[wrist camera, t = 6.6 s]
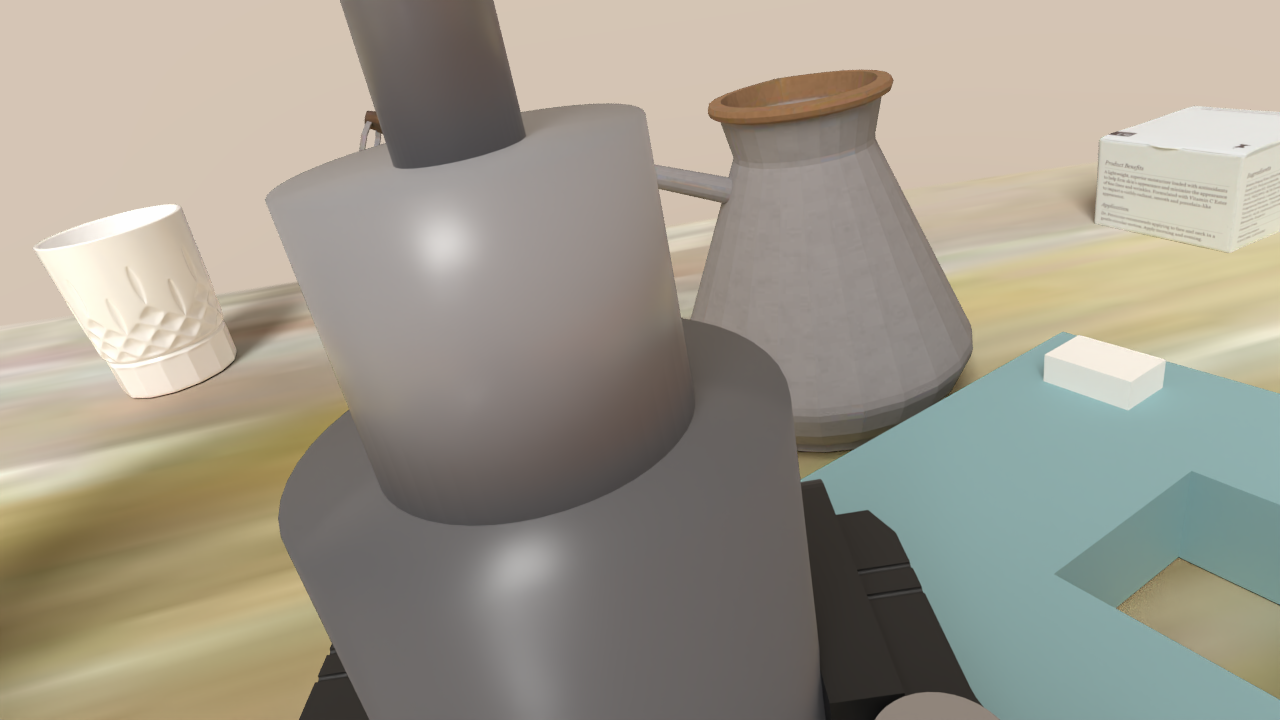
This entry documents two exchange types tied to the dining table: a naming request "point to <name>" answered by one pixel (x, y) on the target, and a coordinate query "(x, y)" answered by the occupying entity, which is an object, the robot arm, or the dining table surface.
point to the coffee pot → (823, 258)
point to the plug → (532, 416)
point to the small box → (1193, 177)
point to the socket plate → (1079, 525)
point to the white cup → (142, 298)
